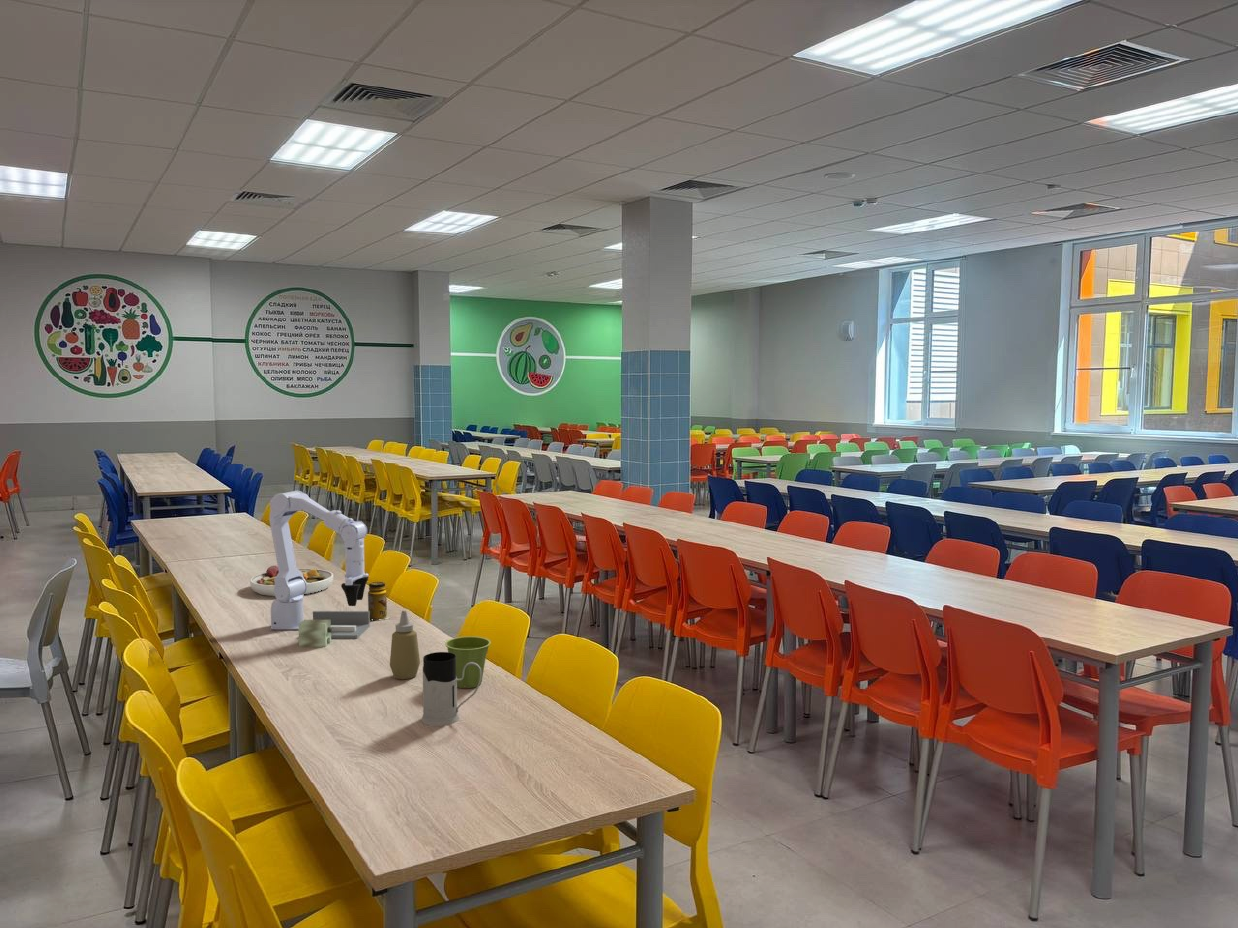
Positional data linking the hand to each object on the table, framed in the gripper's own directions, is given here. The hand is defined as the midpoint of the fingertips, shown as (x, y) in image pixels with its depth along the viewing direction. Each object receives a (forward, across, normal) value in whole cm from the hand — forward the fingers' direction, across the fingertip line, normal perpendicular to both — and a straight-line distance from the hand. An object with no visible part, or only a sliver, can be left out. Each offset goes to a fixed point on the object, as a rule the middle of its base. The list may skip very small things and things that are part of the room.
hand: (355, 602), depth 272 cm
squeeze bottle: (+10, -42, -25) cm, 49 cm away
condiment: (+10, +18, -1) cm, 21 cm away
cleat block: (+10, -12, +9) cm, 18 cm away
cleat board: (+10, +1, +7) cm, 12 cm away
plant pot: (+10, -48, -42) cm, 65 cm away
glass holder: (+10, -72, -42) cm, 84 cm away
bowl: (+10, +60, +41) cm, 74 cm away
